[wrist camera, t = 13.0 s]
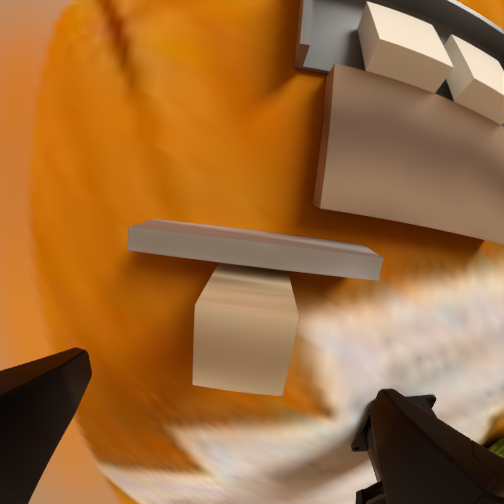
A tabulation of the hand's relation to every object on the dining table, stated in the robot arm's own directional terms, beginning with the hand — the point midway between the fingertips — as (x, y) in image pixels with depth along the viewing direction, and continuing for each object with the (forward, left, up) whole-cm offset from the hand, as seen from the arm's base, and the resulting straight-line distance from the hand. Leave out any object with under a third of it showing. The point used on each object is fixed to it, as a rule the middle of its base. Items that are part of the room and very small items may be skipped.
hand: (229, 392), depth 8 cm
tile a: (+15, -13, -9) cm, 22 cm away
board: (+9, -10, -11) cm, 17 cm away
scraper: (-1, 0, -11) cm, 11 cm away
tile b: (+15, -7, -9) cm, 19 cm away
